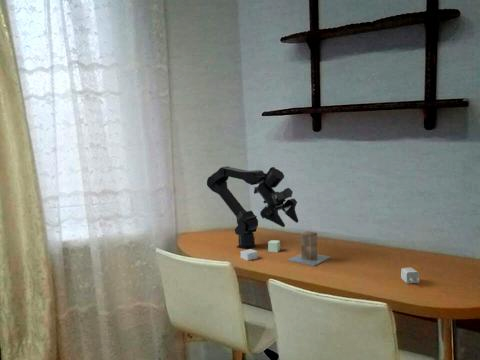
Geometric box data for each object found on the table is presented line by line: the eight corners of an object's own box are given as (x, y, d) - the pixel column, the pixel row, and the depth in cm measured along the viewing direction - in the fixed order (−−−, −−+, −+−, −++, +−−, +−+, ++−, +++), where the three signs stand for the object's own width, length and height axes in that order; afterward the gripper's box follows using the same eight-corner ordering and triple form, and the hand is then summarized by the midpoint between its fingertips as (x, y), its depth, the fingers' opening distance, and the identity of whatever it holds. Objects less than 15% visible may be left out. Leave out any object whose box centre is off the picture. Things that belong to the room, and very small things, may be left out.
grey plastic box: (240, 258, 178) (240, 251, 178) (250, 256, 181) (250, 249, 181) (247, 261, 174) (247, 254, 174) (257, 258, 177) (257, 251, 177)
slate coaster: (287, 260, 172) (287, 259, 172) (305, 253, 181) (305, 251, 181) (313, 266, 164) (313, 264, 164) (330, 258, 173) (330, 256, 172)
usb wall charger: (413, 279, 147) (413, 267, 146) (422, 286, 140) (422, 274, 139) (401, 279, 147) (401, 268, 146) (409, 287, 140) (409, 275, 139)
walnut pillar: (301, 258, 172) (300, 233, 171) (307, 255, 175) (307, 231, 174) (311, 260, 169) (310, 235, 168) (317, 257, 172) (316, 232, 171)
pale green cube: (268, 251, 186) (267, 242, 185) (271, 249, 189) (270, 240, 189) (277, 252, 184) (276, 243, 184) (280, 249, 188) (279, 240, 187)
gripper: (265, 185, 171) (288, 216, 165) (293, 179, 184) (315, 208, 178) (250, 202, 177) (272, 233, 171) (278, 196, 191) (300, 224, 185)
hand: (291, 224), depth 176 cm, fingers open, 9 cm apart
